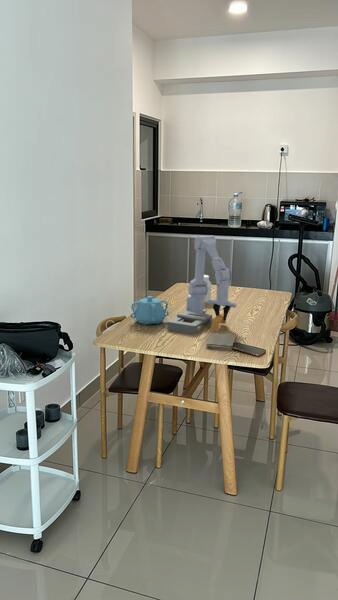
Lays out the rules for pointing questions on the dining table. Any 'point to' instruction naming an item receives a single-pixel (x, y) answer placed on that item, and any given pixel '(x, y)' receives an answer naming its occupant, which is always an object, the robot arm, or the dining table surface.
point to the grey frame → (188, 327)
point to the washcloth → (221, 341)
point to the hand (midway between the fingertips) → (221, 319)
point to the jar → (208, 295)
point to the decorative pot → (149, 311)
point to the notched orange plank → (218, 321)
